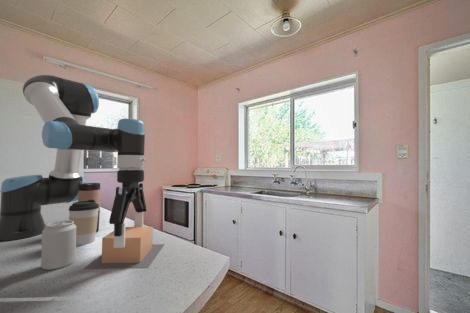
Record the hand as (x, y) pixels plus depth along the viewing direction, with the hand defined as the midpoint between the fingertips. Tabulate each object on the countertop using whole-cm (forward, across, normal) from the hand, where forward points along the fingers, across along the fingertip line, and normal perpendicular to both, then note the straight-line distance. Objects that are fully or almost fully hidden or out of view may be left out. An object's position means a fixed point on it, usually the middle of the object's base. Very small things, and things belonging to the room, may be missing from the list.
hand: (130, 238), depth 66 cm
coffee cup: (+5, +12, +21) cm, 25 cm away
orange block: (+5, 0, 0) cm, 5 cm away
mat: (+6, 0, 0) cm, 6 cm away
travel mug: (+5, +25, +27) cm, 38 cm away
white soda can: (+6, -5, +17) cm, 19 cm away
